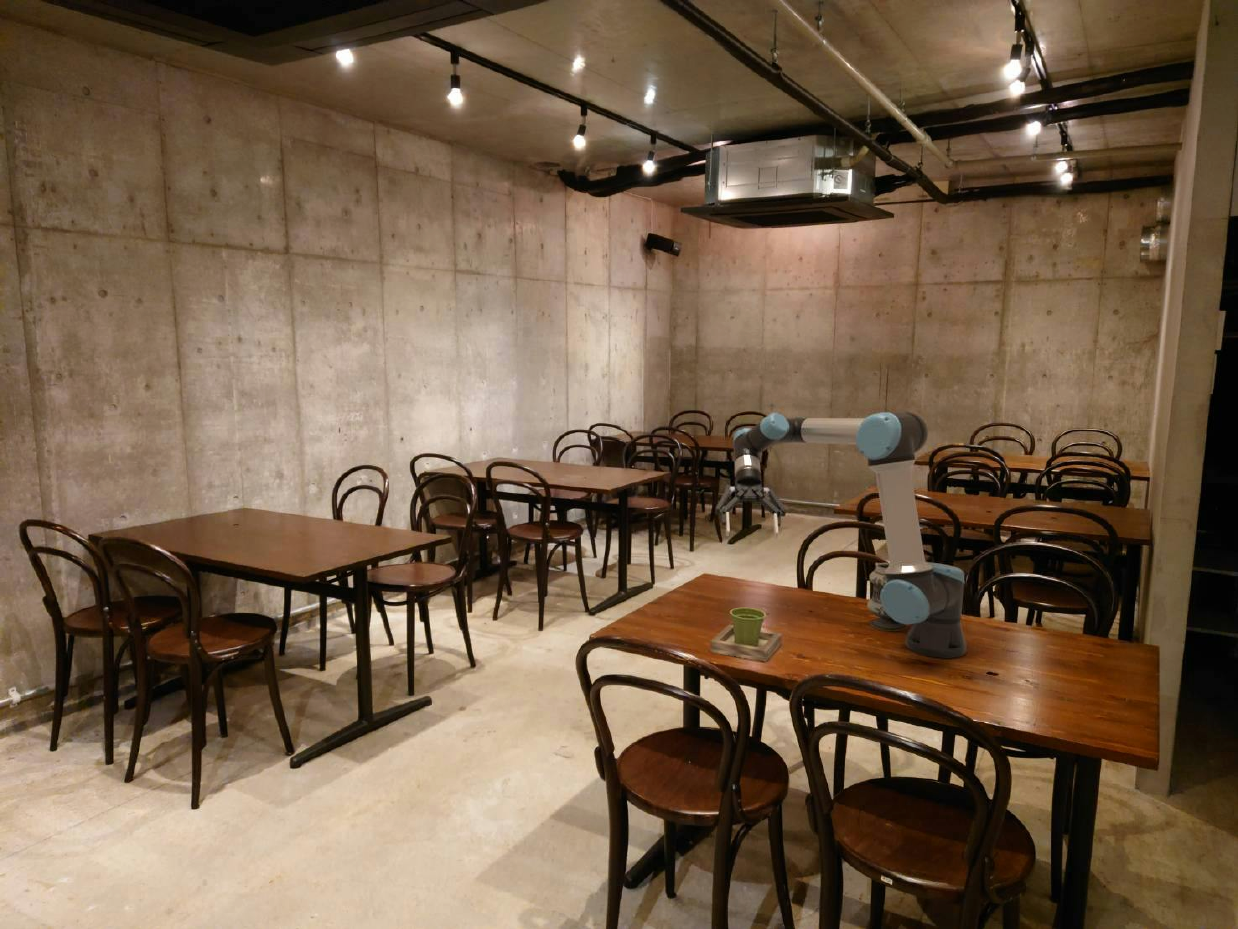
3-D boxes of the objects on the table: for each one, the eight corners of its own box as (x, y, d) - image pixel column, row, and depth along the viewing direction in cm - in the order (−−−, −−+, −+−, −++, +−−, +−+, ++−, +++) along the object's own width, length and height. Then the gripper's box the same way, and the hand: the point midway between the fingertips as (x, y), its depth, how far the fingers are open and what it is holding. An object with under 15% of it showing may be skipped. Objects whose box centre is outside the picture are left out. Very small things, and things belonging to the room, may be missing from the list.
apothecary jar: (901, 619, 234) (905, 561, 232) (915, 633, 222) (920, 572, 220) (861, 618, 235) (864, 560, 232) (873, 632, 223) (877, 571, 220)
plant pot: (762, 639, 213) (764, 608, 212) (766, 651, 203) (767, 619, 202) (728, 637, 214) (729, 606, 212) (729, 649, 204) (731, 617, 203)
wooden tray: (781, 644, 212) (781, 633, 211) (765, 662, 199) (766, 651, 198) (728, 634, 218) (729, 624, 218) (710, 652, 205) (710, 641, 205)
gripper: (788, 482, 235) (794, 542, 222) (705, 480, 236) (706, 540, 223) (792, 467, 229) (799, 528, 216) (706, 465, 230) (708, 526, 217)
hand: (752, 534), depth 220 cm, fingers open, 13 cm apart
